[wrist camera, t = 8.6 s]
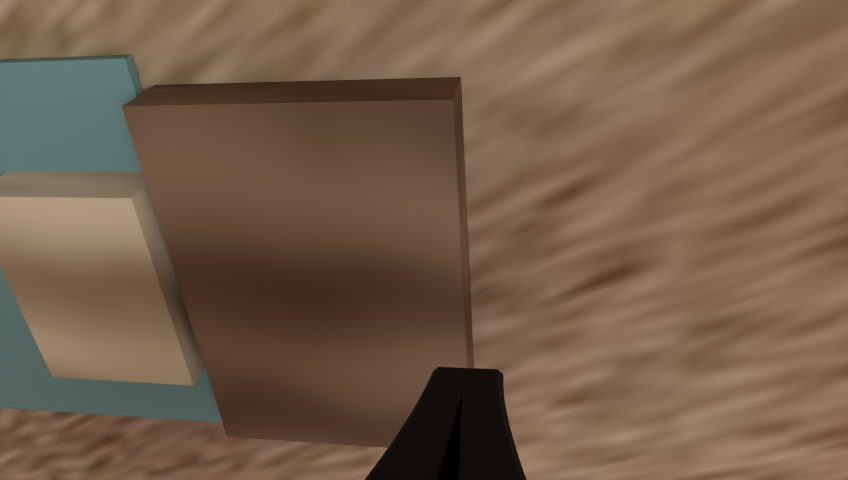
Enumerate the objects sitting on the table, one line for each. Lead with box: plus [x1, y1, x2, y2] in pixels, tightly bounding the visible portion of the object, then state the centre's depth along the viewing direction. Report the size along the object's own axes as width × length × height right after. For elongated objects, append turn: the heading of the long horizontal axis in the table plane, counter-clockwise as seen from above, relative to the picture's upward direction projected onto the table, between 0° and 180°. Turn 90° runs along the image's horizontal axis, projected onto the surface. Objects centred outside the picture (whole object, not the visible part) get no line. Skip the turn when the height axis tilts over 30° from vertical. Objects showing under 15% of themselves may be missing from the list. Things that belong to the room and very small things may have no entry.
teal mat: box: [0, 55, 223, 423], centre depth 26 cm, size 16×12×1 cm
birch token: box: [0, 171, 205, 386], centre depth 24 cm, size 8×6×2 cm
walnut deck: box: [122, 77, 474, 448], centre depth 23 cm, size 14×10×2 cm
